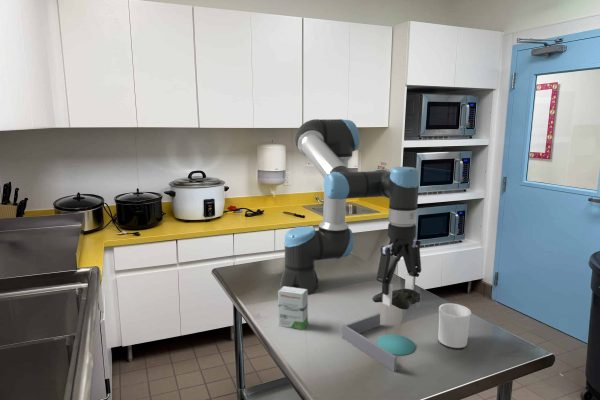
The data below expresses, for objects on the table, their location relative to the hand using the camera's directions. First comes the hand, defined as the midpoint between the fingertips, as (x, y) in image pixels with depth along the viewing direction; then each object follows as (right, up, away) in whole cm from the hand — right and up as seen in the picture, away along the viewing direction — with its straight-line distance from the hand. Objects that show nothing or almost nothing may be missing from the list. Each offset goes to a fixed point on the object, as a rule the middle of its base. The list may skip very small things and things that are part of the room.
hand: (398, 300), depth 119 cm
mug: (+18, -13, +5) cm, 23 cm away
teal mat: (0, -14, +3) cm, 14 cm away
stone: (-1, -2, +1) cm, 2 cm away
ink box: (-30, -11, +14) cm, 36 cm away
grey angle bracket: (-3, -14, +2) cm, 14 cm away
